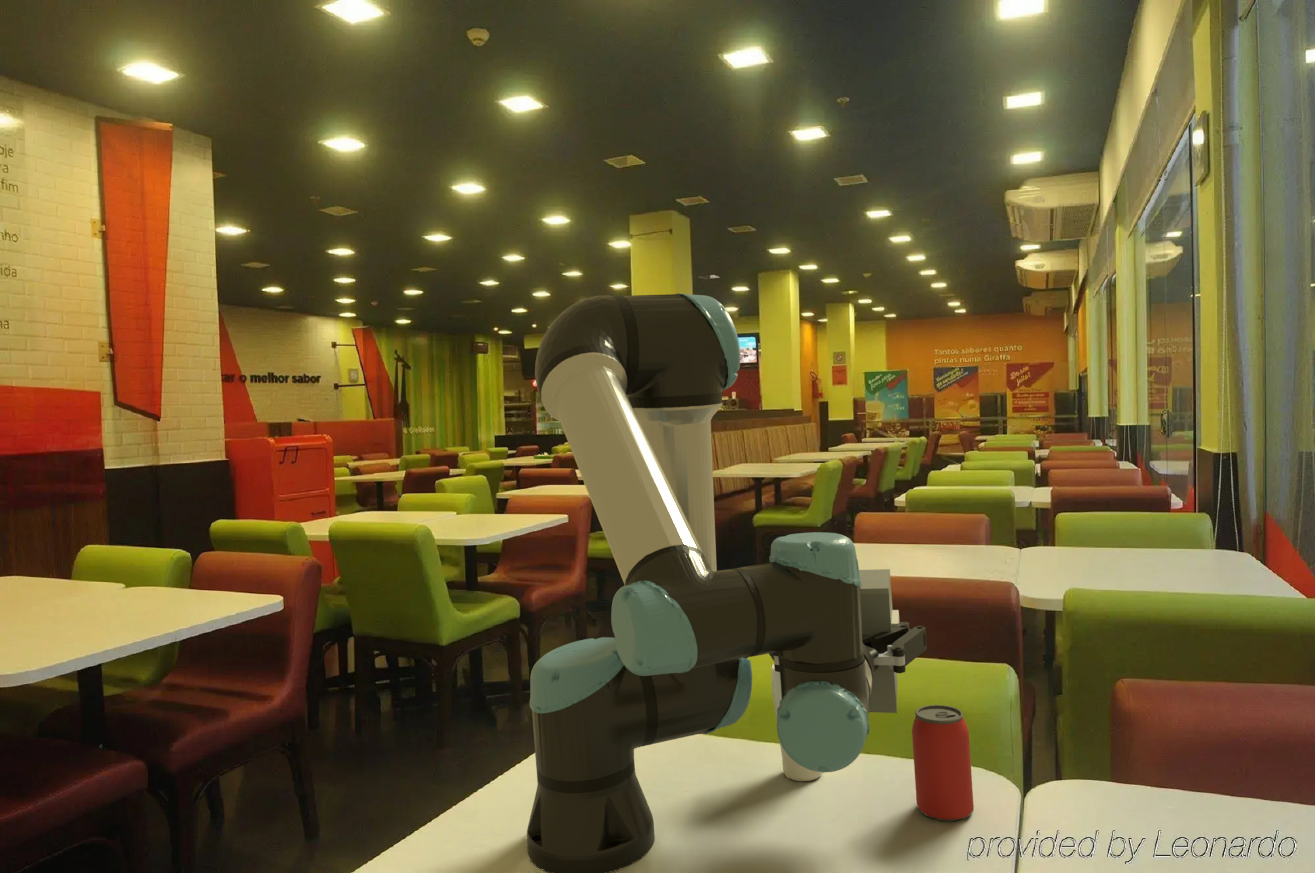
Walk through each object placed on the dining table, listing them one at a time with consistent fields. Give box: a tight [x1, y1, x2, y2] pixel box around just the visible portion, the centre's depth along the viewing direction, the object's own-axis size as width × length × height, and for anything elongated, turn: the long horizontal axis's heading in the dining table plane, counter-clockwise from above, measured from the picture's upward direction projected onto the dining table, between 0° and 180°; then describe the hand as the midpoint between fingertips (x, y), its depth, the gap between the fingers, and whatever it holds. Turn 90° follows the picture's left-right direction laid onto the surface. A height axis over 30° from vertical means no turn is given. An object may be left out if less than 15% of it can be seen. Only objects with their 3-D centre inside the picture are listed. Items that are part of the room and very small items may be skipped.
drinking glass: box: [770, 663, 823, 782], centre depth 116 cm, size 7×7×15 cm
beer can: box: [911, 704, 975, 822], centre depth 103 cm, size 7×7×12 cm
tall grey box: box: [859, 568, 898, 714], centre depth 102 cm, size 11×11×14 cm
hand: (847, 621), depth 106 cm, fingers closed on tall grey box, 11 cm apart
